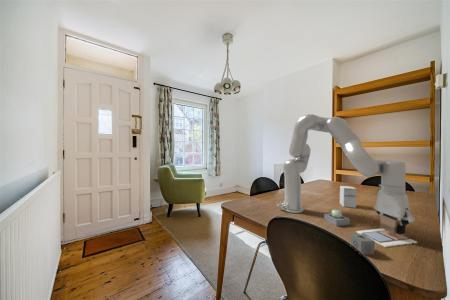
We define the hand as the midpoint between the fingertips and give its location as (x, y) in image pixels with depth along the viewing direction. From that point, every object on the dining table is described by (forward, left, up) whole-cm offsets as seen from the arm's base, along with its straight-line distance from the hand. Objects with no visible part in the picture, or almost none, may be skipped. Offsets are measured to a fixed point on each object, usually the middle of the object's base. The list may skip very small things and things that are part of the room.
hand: (392, 229), depth 75 cm
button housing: (-12, +17, -3) cm, 21 cm away
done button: (-12, +17, -1) cm, 21 cm away
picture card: (-4, 0, -3) cm, 5 cm away
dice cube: (-23, -6, -3) cm, 24 cm away
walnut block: (0, 0, 0) cm, 0 cm away
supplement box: (+17, +38, -3) cm, 42 cm away
